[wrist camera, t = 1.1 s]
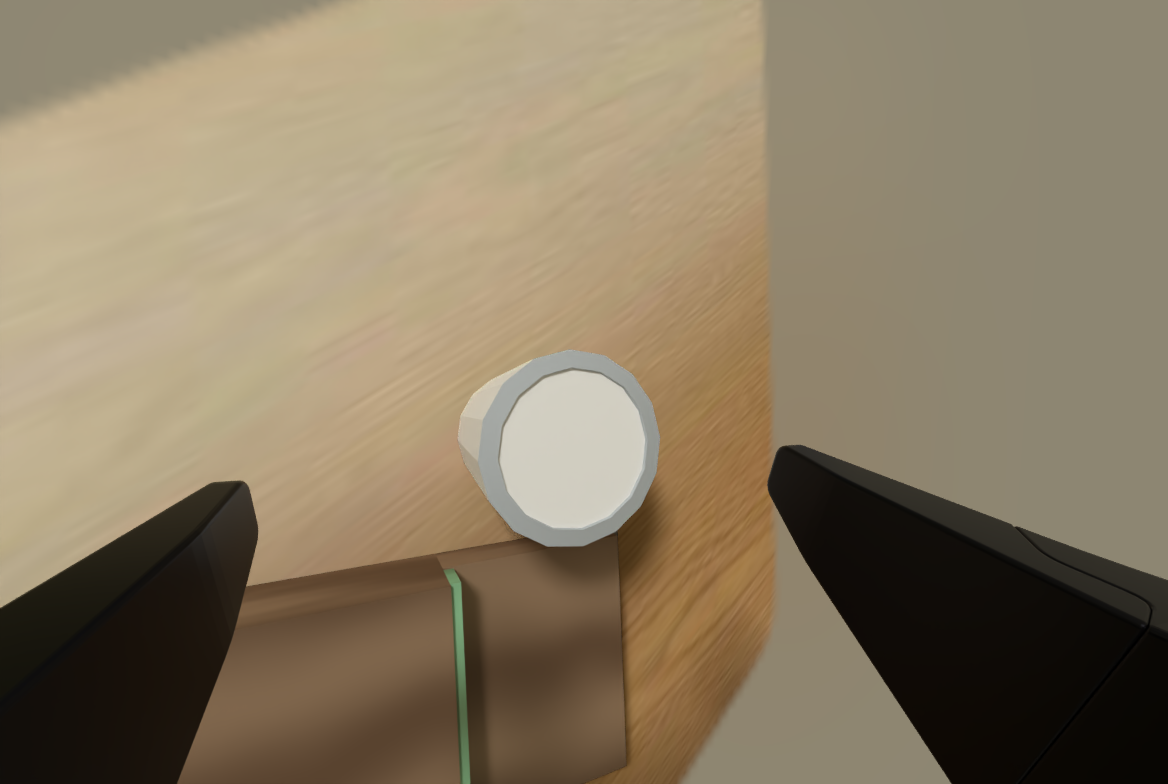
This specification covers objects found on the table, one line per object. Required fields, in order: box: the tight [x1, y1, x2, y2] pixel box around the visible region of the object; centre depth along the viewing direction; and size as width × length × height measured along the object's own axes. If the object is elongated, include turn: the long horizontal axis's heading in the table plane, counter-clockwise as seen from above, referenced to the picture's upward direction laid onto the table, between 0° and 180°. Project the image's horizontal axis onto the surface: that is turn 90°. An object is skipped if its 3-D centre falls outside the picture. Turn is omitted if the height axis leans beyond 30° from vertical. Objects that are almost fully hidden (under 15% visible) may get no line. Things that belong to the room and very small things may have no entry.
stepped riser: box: [177, 531, 626, 784], centre depth 20 cm, size 11×19×4 cm, turn 92°
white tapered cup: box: [458, 349, 660, 547], centre depth 20 cm, size 7×7×7 cm
